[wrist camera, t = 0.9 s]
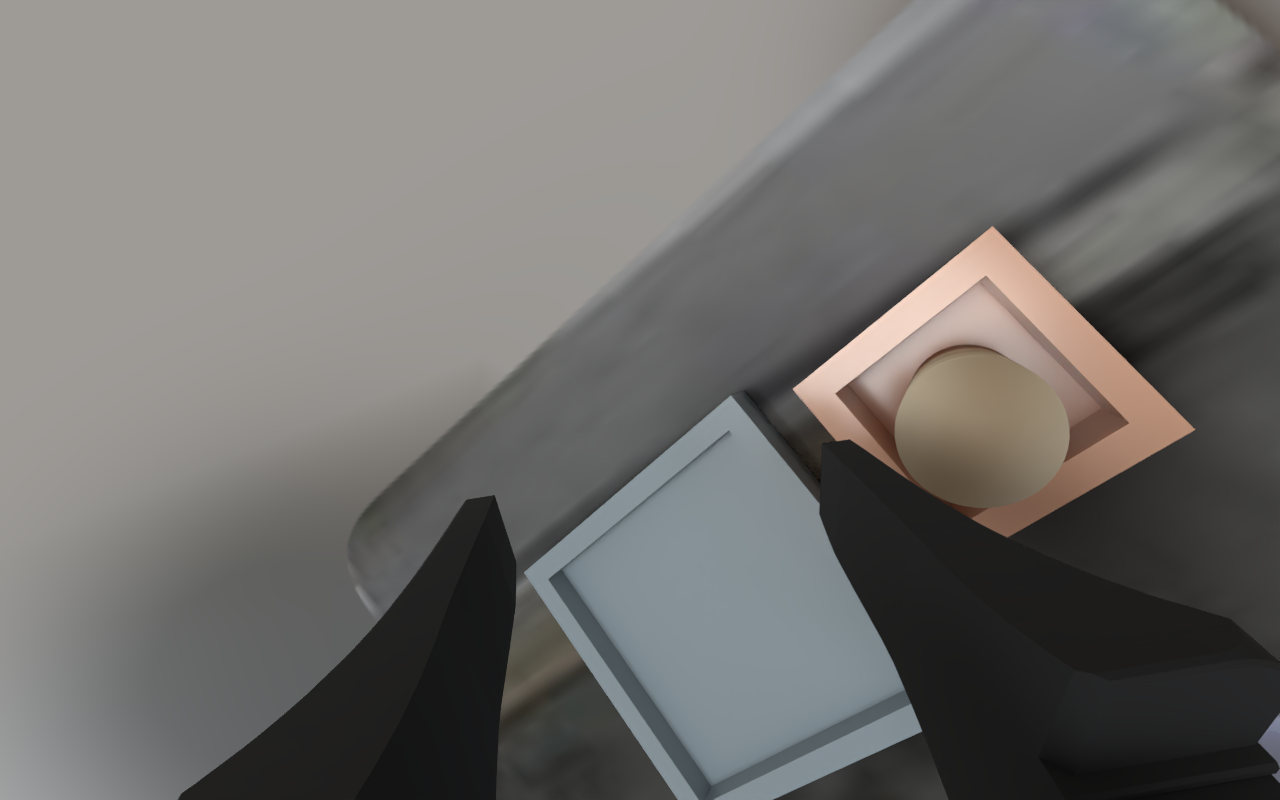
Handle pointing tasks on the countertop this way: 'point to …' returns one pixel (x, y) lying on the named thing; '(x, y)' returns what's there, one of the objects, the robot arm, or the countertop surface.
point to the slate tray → (727, 618)
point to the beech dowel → (980, 428)
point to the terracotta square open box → (1022, 331)
